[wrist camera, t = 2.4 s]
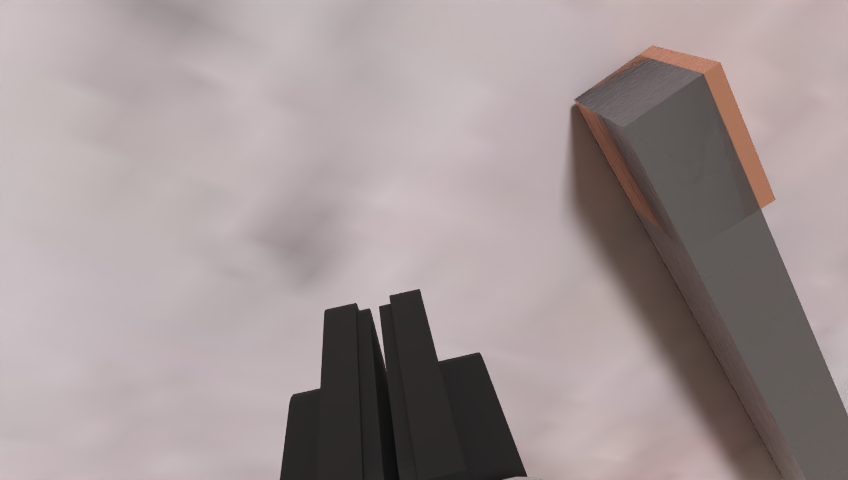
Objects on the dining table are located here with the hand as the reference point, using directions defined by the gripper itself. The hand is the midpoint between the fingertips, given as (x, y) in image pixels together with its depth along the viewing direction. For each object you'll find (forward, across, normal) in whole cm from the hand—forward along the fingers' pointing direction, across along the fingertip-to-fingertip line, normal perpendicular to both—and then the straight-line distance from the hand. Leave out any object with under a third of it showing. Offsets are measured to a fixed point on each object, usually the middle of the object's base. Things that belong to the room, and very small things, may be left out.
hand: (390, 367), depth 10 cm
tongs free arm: (+7, -13, +7) cm, 16 cm away
